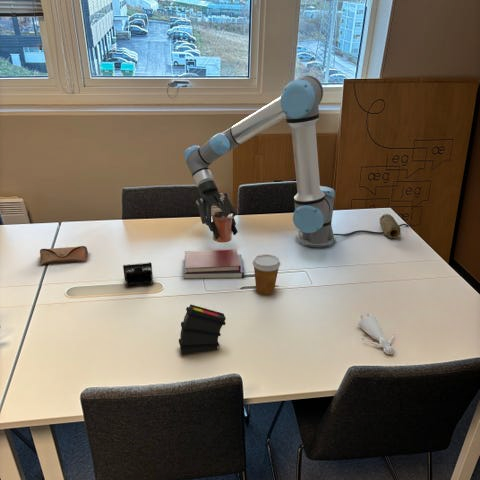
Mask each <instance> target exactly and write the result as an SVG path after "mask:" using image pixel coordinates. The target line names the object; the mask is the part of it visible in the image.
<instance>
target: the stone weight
mask: <svg viewBox="0 0 480 480" xmlns="http://www.w3.org/2000/svg"><path fill="white" fill-rule="evenodd" d="M379 225H380V228H381V230H382V232H384V235H385V236H386V237H387V238H389V239H396V238H399V237H400V235H401V231H402V230H401V226H400V227H399V225H400V224H398V222H397V220H396V219H395V218H394V217H393V216H392V215H391V214H389V213H384V214H382V215H381V216H380V217H379Z"/></svg>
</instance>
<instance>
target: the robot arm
mask: <svg viewBox="0 0 480 480" xmlns="http://www.w3.org/2000/svg"><path fill="white" fill-rule="evenodd" d="M323 97H324V88H323V85H322V82H321V81H320V80H319V79H318V77H315V76H314V75H308V74H307V75H302V76H301V77H298V78H296V79H292V80H291V81H289V82H288V83H287V84H286V85H285V87H284V88H283V90H282V92H281V93H280V96H279V97H278V98H276V99H274V100H273V101H271V102H270V103H268V104H267V105H264V106H263V107H261V108H260V109H258V110H257V111H255V112H254V113H252V114H250V115H248V116H247V117H245V118H244V119H242V120H240V121H239V122H237V123H236V124H234V125H233V126H230V127H229V128H227V129H225V130H224V131H222V132H218V133H216V134H214V135H213V136H211V137H210V139H208V140H207V141H206V142H205V143H203V144H202V145H201V146H200V145H191V146H190V147H187V148H186V149H185V151H184V153H183V156H184V159H185V163H186V165H187V167H188V169H189V171H190V173H191V177H192V179H193V181H194V184H195V186H196V187H197V192H198V194H199V196H200V198H197V199H196V201H195V204H196V206H197V209H198V213H199V217H200V221H201V224H202V225H205V226H207V227H208V230H209V231H210V232H212V235H213V234H214V237H215V239H218V238H219V237H220V236H219V233H218V231H217V228H216V226H215V223H214V221H213V220H212V207H213V206H214V207H216V208H218V209H219V210H220V211H224V212H229V213H231V214H232V215H233V216H232V236H235V235H237V234H238V232H239V231H238V229H237V223H236V219H235V217H236V216H237V214H238V213H237V212H236V209H235V208H234V206H233V204H232V202H231V201H230V198H229V196H228V193H227V192H224V193H220V192H219V189H218V186H217V184H216V181H215V178H214V176H213V174H212V171H211V170H210V165H211V164H213V163H214V162H216V161H217V160H218V159H219V158H222V156H224V155H225V154H227V153H229V152H230V151H232V150H234V149H235V148H237V147H238V146H240V145H242V144H243V143H245V142H247V141H248V140H251V139H252V138H254V137H256V136H258V135H260V134H261V133H262V132H264V131H266V130H267V129H269V128H271V127H273V126H274V125H275V126H276V124H278V123H279V122H281V121H283V120H285V121H286V124H287V125H288V126H289V127H290V130H291V139H292V140H291V141H292V148H293V151H292V152H293V160H294V170H295V180H296V190H297V193H296V194H295V195H294V196H293V201H294V211H293V213H292V222H293V225H294V226H295V228H296V229H298V230H297V241H298V243H299V244H301V245H303V246H305V247H309V248H313V249H314V248H317V249H320V248H321V249H322V248H327V247H330V246H332V245H333V244H334V242H335V236H337V237H339V236H341V237H346V236H351V235H353V234H356V233H357V234H358V233H369V234H373V235H374V234H376V235H382V234H384V235H385V233H384V231H371V230H363V229H362V230H361V229H359V230H354V231H351V232H349V233H334V231H333V226H332V222H333V213H334V207H335V206H334V205H335V199H336V191H335V189H333V188H332V187H328V186H323V185H321V182H320V180H321V179H320V169H319V156H318V155H319V153H318V142H317V129H316V124H317V122H318V120H319V119H320V111H319V110H320V109H319V105H320V104H321V103H322V101H323ZM204 204H205V207H204ZM205 210H206V211H205ZM398 225H399V227H400V228H401V227H403V226H406V227H408V228H409V227H410V226H409V224H407V223H400V224H398Z"/></svg>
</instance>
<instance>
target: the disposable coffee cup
mask: <svg viewBox="0 0 480 480" xmlns="http://www.w3.org/2000/svg"><path fill="white" fill-rule="evenodd" d="M252 266H253V271H254V282H255V290H256V293H257V294H259V295H264V296H268V295H271V294H273V293H275V288H276V283H277V278H278V274H279V268H280V266H281V262H280V259H279V257H277V256H276V255H272V254H259V255H256V256H255V257H254V259H253V261H252Z"/></svg>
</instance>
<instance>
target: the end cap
mask: <svg viewBox="0 0 480 480" xmlns="http://www.w3.org/2000/svg"><path fill="white" fill-rule="evenodd" d="M122 269H123V277H124V278H123V279H124V281H125V283H126V288H128V289H130V288H137V287H147V286H153V285H154V284H153V279H154V275H153V265H152V262H151V261H150V262H140V263H129V264H123V265H122Z"/></svg>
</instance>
